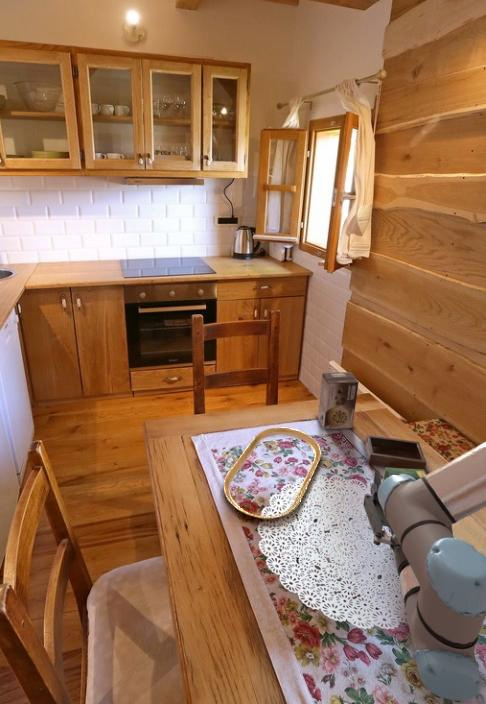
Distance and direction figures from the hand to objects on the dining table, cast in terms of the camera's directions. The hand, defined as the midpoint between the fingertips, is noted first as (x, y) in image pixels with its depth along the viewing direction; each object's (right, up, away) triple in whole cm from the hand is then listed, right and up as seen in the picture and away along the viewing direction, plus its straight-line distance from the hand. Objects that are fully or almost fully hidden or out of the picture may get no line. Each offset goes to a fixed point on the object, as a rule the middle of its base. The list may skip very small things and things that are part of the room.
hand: (397, 479), depth 87 cm
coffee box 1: (-3, +2, +38) cm, 38 cm away
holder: (+9, -4, +23) cm, 25 cm away
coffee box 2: (-1, -9, -2) cm, 9 cm away
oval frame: (-24, -5, +18) cm, 30 cm away
